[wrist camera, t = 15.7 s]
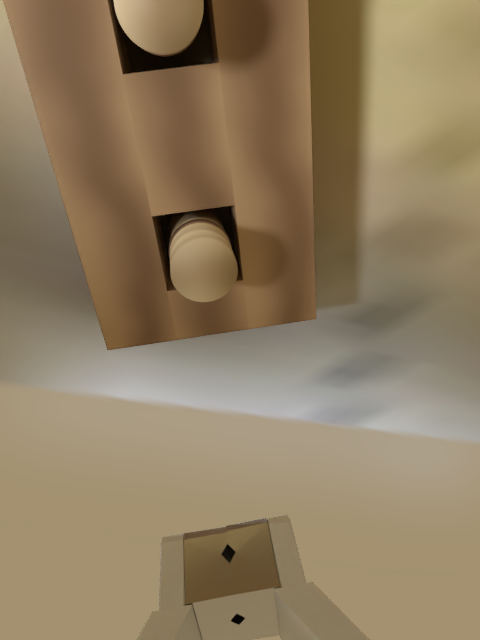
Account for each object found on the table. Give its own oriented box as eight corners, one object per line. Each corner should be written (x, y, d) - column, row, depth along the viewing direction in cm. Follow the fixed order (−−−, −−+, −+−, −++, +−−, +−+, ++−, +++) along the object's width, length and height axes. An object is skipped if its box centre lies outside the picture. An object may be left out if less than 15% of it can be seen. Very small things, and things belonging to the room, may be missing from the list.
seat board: (115, 317, 34) (107, 350, 30) (-3, -113, 22) (-42, -150, 18) (301, 290, 35) (316, 318, 31) (282, -142, 23) (303, -183, 19)
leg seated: (138, 60, 26) (123, 60, 19) (123, -20, 25) (101, -51, 18) (202, 52, 27) (210, 50, 20) (192, -27, 25) (197, -61, 18)
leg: (165, 202, 30) (165, 241, 23) (221, 198, 31) (237, 235, 24) (171, 255, 32) (172, 306, 25) (224, 251, 33) (240, 299, 26)
